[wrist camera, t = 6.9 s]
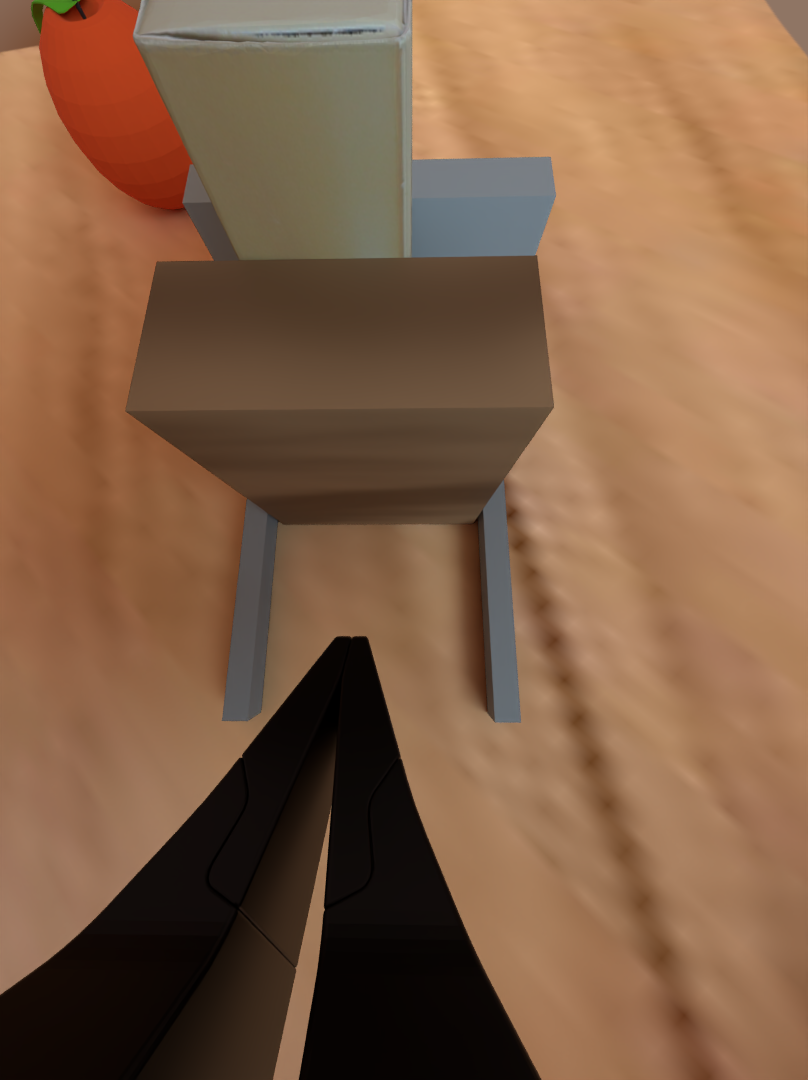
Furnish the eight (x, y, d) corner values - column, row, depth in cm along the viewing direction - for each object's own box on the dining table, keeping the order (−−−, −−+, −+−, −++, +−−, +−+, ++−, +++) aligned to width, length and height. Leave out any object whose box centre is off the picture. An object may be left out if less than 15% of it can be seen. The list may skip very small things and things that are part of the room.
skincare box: (331, 345, 18) (182, -182, 6) (410, 344, 18) (413, -191, 6) (323, 452, 17) (105, 18, 5) (410, 451, 16) (414, 10, 5)
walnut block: (472, 523, 16) (554, 406, 7) (283, 524, 16) (125, 410, 7) (469, 446, 16) (536, 255, 8) (290, 447, 17) (156, 262, 8)
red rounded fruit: (90, 208, 21) (-71, 2, 14) (160, 139, 22) (44, -82, 15) (191, 256, 20) (73, 61, 13) (258, 180, 21) (184, -34, 14)
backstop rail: (540, 713, 14) (636, 785, 8) (210, 711, 14) (67, 780, 8) (506, 301, 19) (550, 157, 13) (258, 304, 19) (190, 164, 13)
